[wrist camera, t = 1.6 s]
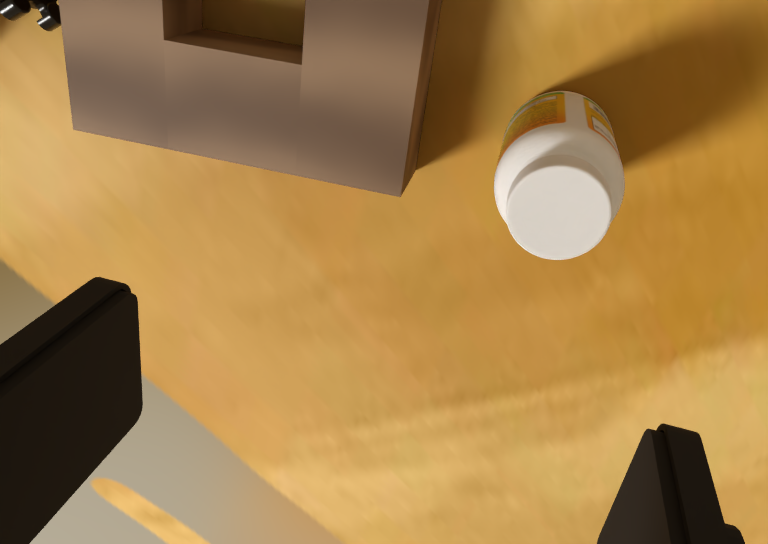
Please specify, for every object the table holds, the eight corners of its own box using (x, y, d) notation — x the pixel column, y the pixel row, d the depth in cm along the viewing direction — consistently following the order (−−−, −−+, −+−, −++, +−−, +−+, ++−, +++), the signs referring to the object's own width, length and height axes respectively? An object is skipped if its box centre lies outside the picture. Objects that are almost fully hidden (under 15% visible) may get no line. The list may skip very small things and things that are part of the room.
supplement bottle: (492, 177, 35) (471, 257, 27) (520, 77, 32) (507, 131, 24) (591, 203, 35) (603, 292, 26) (629, 103, 32) (654, 167, 24)
